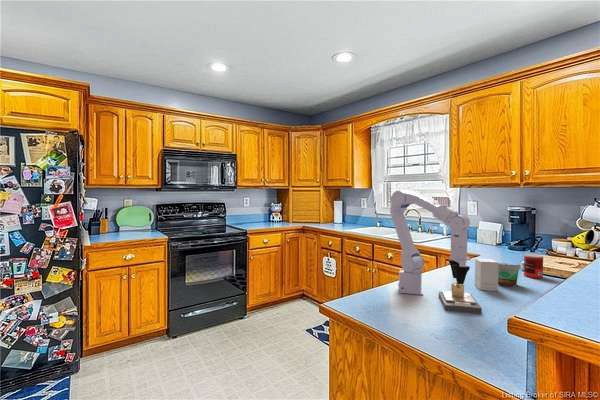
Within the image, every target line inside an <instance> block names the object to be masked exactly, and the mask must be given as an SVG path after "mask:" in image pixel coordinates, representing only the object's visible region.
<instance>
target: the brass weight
mask: <svg viewBox="0 0 600 400" xmlns="http://www.w3.org/2000/svg"><path fill="white" fill-rule="evenodd" d="M450 289H451V290H450V291H451V296H453V297H456V298H464V292H465V284H457V282H451V288H450Z"/></svg>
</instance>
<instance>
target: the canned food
mask: <svg viewBox="0 0 600 400" xmlns="http://www.w3.org/2000/svg"><path fill="white" fill-rule="evenodd" d="M523 257H524V258H523V260H524V261H523V275H524V277H526V278H528V279H529V278H530V279H533V280H534V279H536V280H537V279H538V280H541V279H542V278H543V275H544V272H543V271H544V255H542V254H539V253H538V254H537V253H524V256H523Z"/></svg>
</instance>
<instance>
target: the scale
mask: <svg viewBox="0 0 600 400" xmlns="http://www.w3.org/2000/svg"><path fill="white" fill-rule="evenodd" d="M469 294H470V293H469ZM470 295H471V296H472V298H473V299H474V300H475V302H476V304H471V303H467V302H449V301H446V299H445V297H444V295H443V294H442V291H438V299H439V301H440V302H441V305H442V307H443V309H444V311H449V312H450V311H451V312H459V313H467V314H468V313H470V314H480V315H482V313H483V308H482V307H481V305H480V304H479V302H477V300H476V299H475V298H474V296H473V295H472V294H470Z"/></svg>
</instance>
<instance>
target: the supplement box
mask: <svg viewBox="0 0 600 400" xmlns="http://www.w3.org/2000/svg"><path fill="white" fill-rule="evenodd" d="M499 262H500V261H497V260H494V259H493V258H478V257H477V258H476V257H475V258H474V286H475V287H476V288H477V289H479V290H481V291H491V292H493V291H494V292H495V291H497V292H498V291H499V285H498V268H499V264H500V263H499Z"/></svg>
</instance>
